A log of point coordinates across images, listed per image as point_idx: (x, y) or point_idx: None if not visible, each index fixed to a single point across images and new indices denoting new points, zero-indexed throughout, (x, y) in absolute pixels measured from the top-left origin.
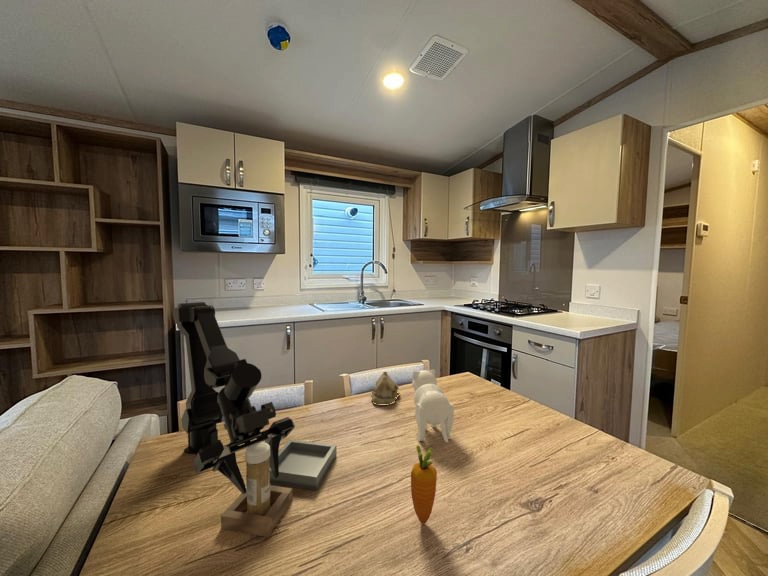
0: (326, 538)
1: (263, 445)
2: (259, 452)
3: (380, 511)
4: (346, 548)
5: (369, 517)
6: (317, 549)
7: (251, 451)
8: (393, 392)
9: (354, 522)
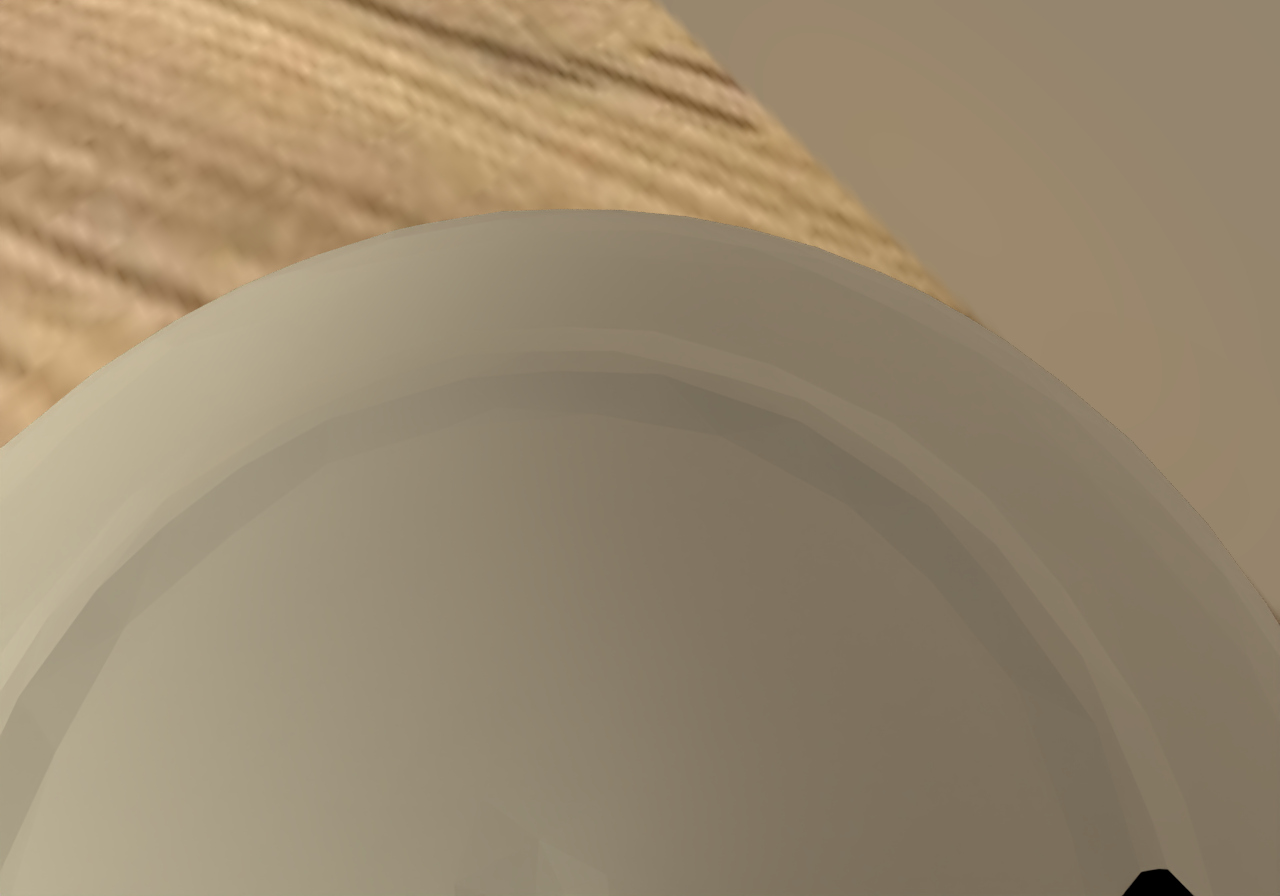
0: (486, 135)
1: (63, 853)
2: (793, 325)
3: (81, 13)
4: (477, 7)
5: (170, 36)
6: (591, 123)
7: (1154, 829)
8: None
9: (262, 82)
